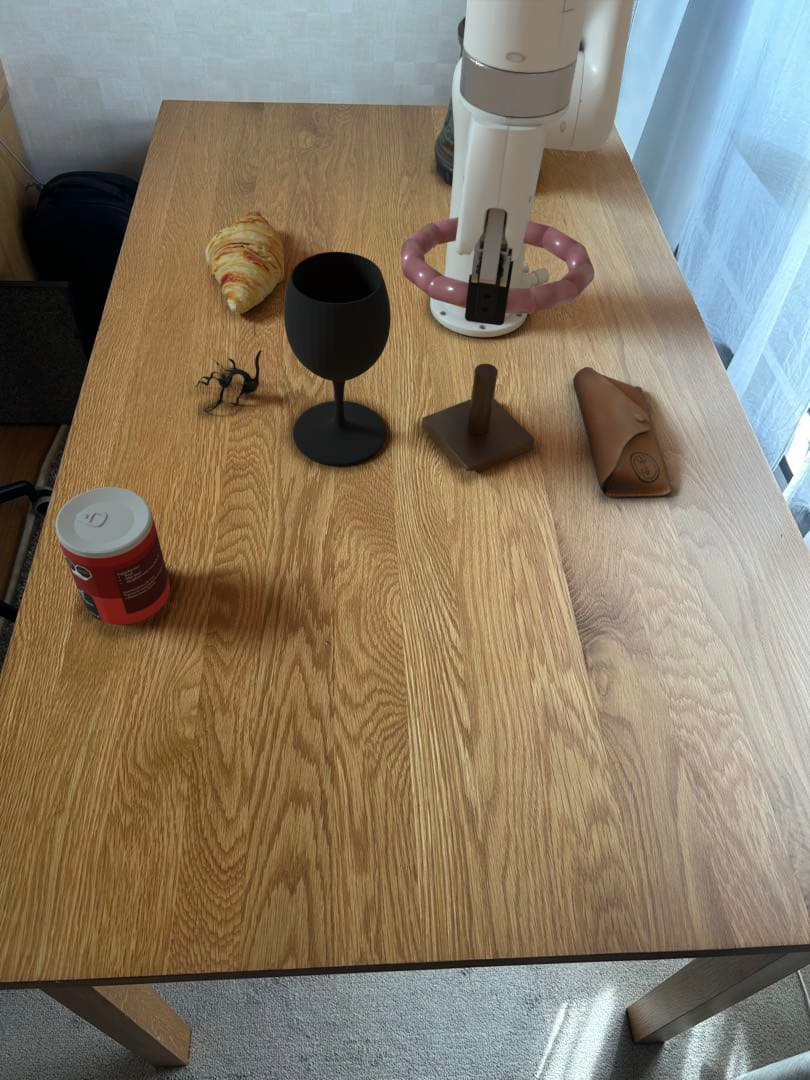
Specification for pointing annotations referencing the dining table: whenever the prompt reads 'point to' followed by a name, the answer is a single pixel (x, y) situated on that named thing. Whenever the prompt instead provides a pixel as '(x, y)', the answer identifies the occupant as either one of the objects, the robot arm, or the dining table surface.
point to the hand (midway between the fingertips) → (486, 308)
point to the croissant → (246, 261)
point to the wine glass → (337, 350)
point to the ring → (517, 297)
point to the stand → (478, 427)
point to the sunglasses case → (620, 437)
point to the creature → (248, 382)
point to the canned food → (114, 554)
